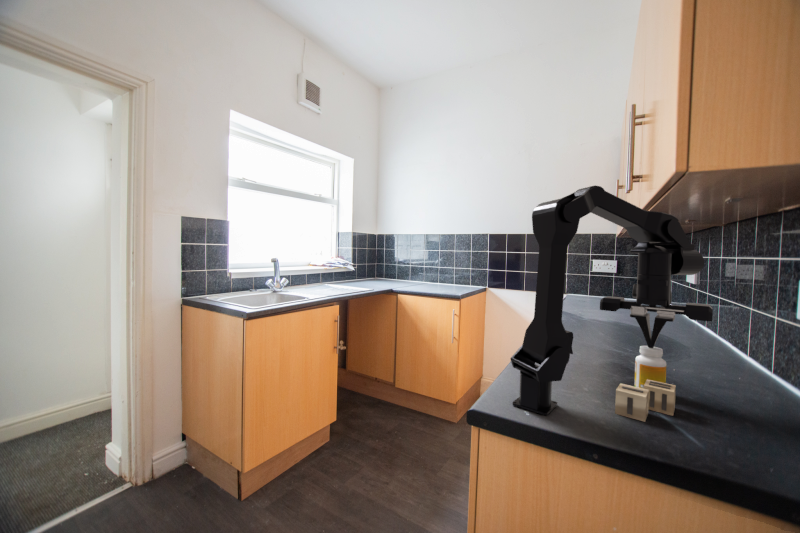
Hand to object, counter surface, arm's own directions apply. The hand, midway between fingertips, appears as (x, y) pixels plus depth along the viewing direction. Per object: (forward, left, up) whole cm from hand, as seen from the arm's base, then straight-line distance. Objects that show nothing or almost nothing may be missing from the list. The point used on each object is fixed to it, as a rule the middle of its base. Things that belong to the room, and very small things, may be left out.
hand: (650, 347), depth 71 cm
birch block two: (-8, -2, -10) cm, 13 cm away
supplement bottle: (0, 0, -10) cm, 10 cm away
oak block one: (-14, +1, -10) cm, 18 cm away
